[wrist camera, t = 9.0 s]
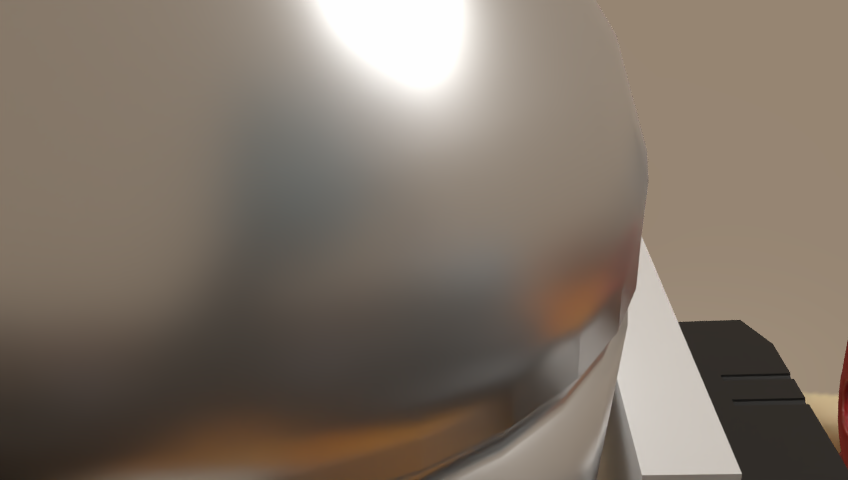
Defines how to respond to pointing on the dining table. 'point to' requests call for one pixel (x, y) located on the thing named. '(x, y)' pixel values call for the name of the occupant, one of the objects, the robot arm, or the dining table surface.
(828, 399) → the dining table surface
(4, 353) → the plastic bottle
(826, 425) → the dining table surface
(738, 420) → the robot arm
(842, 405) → the plant pot
